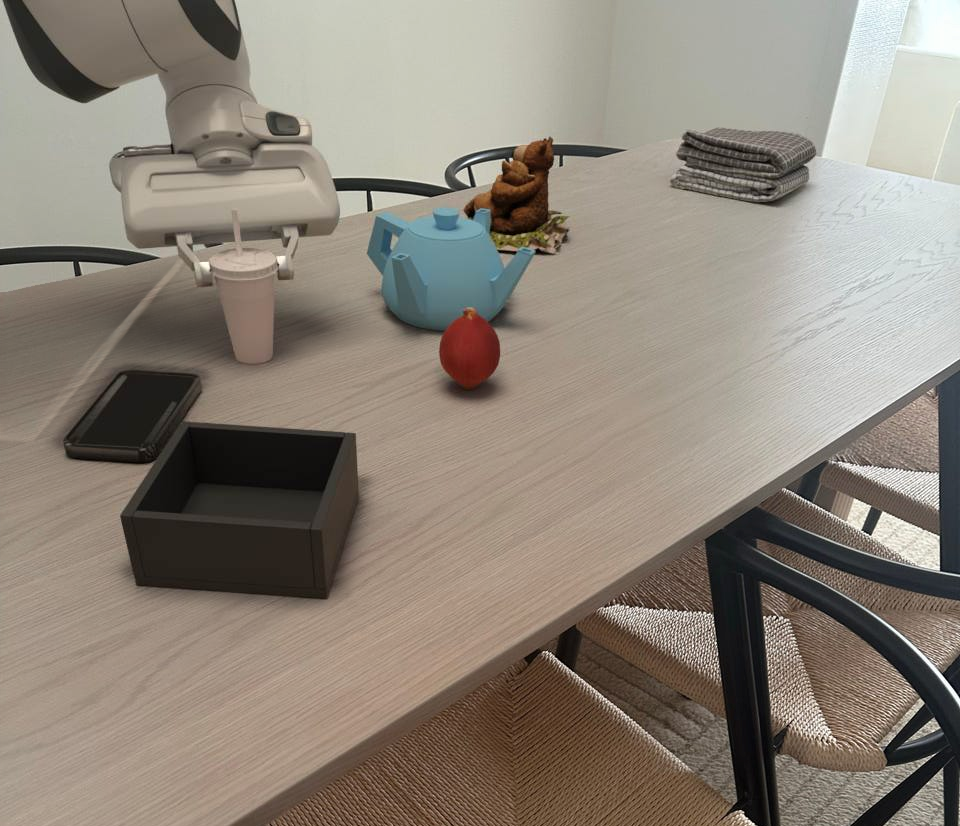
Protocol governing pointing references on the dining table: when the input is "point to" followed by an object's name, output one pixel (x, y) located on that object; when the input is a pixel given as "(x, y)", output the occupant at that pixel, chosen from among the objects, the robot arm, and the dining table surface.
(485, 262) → the teapot
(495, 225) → the bear figurine
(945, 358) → the dining table surface
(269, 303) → the smoothie
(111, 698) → the dining table surface
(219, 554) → the black tray
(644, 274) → the dining table surface
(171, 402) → the phone
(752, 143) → the towel
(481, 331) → the onion
